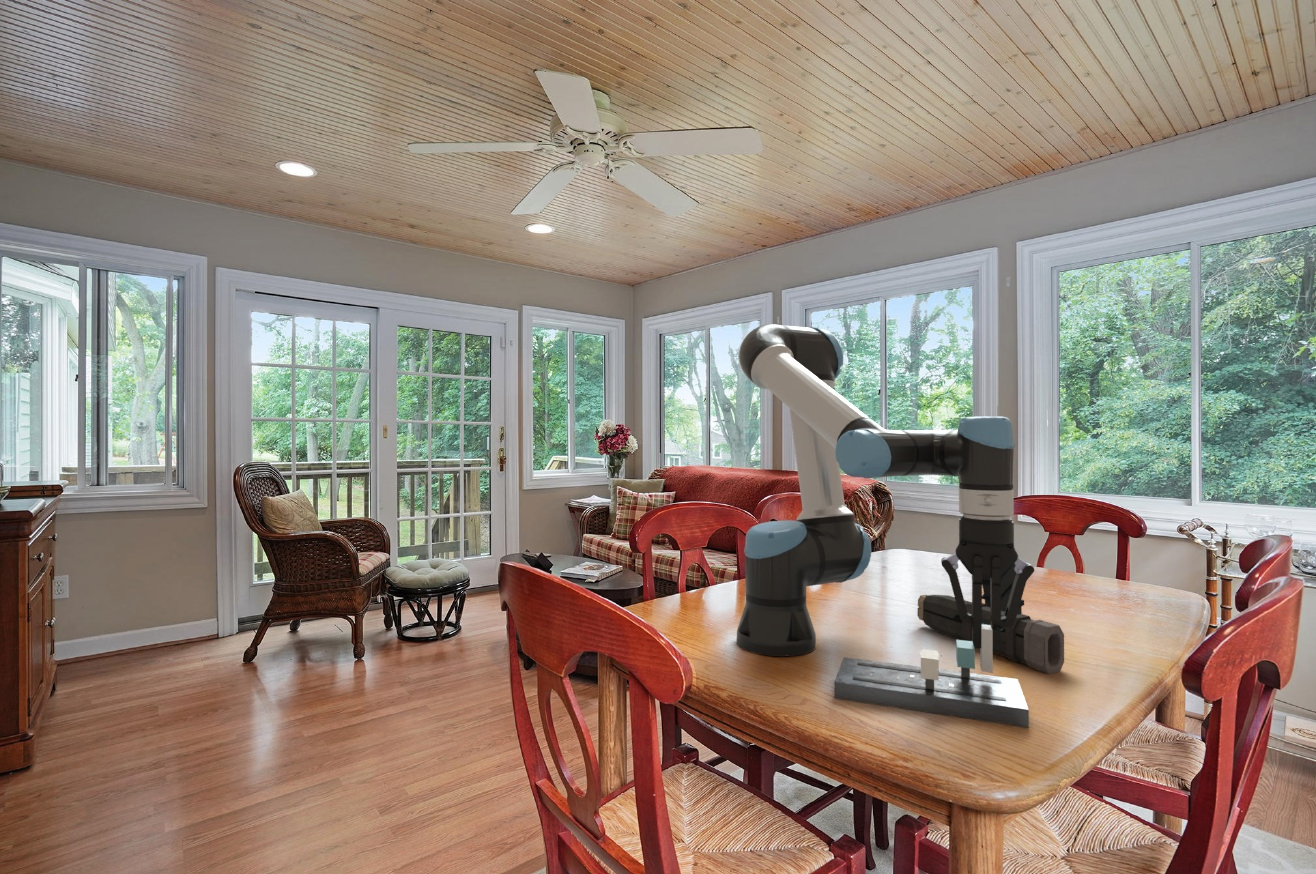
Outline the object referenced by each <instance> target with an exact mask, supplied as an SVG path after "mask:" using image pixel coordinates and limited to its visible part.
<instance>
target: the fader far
mask: <svg viewBox="0 0 1316 874" xmlns="http://www.w3.org/2000/svg"><path fill="white" fill-rule="evenodd" d="M955 644H956V645H955V649H956V652H955V653H956V654H955V656H956V657H955V658H956V665H957V666H956V667H958V668H960V672H961V677H967V678H970V673H971V670H975V668H976V666H975V665H976V660H975V659H976V656H975V655H976V654H975V653H976V652H975V650H976V649H975V647H974V645H973V642H972V641H964V640H958V639H956V640H955Z"/></svg>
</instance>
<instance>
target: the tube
mask: <svg viewBox="0 0 1316 874" xmlns="http://www.w3.org/2000/svg"><path fill="white" fill-rule="evenodd" d="M964 602H965V605H966V609H967V613H969V614H972V601H969V600H965V599H964ZM1004 614H1005V612H1004V611H1001V617H1003V616H1004ZM917 617H918V619H919V621H923V623H924V625H925V626H928V627H929V628H930V629H932V630H933V631H936V632H937V633H939V634H942V635H945V636H946V637H950V638H953V639H956V640H964V641H972V625H970V624H969V623H966V622H962V621H961V619H960V616H959V612H958V608H957V604H956V600H955V597H954V596H952V595H946V594H945V595H944V594H930V595H929V594H928V595H927V594H921V595H919V597H918V599H917ZM982 624H984V625H991V612H990V607H988V606H987V604H985V602H982ZM974 648H976V647H974ZM976 649H977V648H976ZM993 654H998V655H999V656H1002V657H1005V658H1008V660H1009V662H1012V663H1016V664H1019V663H1020V664H1025V665H1026V666H1027V667H1028V668H1031V669H1033V670H1036V671H1039V672H1041V673H1044V674H1048V675H1051V674H1056V673H1060V672H1061V670H1062V667H1063V666H1064V663H1065V633H1064V632H1063V630H1062V628H1061V626H1060V625H1059V624H1056V623H1052V622H1049V621H1046V620H1042V619H1035V620H1034V619H1032V618H1031V616H1029V615H1027V614H1023V613H1022V614H1018V615H1017V617H1016V620H1015V624H1014V626H1012V627H1009V626H1008V627H1004V628H1002V629H1001V647H1000V650H994V649H993Z"/></svg>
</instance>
